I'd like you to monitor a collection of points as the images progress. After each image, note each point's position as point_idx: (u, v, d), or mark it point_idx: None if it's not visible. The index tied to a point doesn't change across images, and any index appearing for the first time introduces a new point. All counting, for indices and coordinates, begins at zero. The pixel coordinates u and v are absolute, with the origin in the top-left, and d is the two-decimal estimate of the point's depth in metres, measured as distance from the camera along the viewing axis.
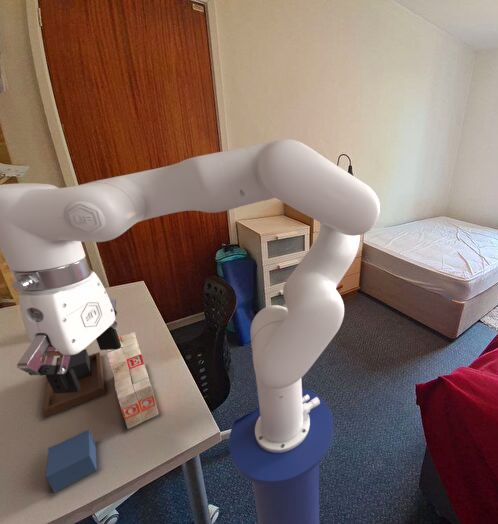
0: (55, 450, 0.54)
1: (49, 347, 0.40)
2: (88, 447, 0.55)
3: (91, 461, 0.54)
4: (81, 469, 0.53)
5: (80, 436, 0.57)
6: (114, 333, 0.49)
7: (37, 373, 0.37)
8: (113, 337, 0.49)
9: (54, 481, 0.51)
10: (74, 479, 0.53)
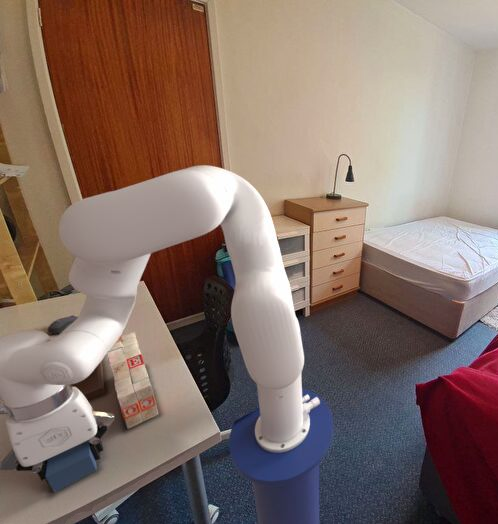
0: None
1: None
2: (88, 447, 0.55)
3: (91, 461, 0.54)
4: (81, 469, 0.53)
5: None
6: (92, 450, 0.55)
7: None
8: (91, 451, 0.56)
9: (54, 481, 0.51)
10: (74, 479, 0.53)
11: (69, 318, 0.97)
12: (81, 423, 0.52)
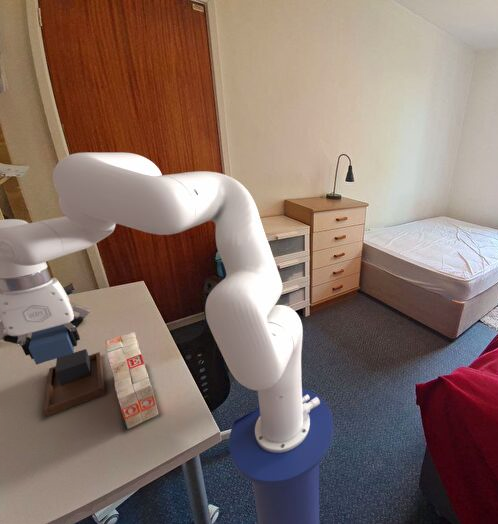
0: (37, 334, 0.64)
1: None
2: (66, 332, 0.64)
3: (68, 343, 0.64)
4: (59, 348, 0.63)
5: (60, 326, 0.66)
6: (69, 335, 0.65)
7: None
8: (69, 337, 0.65)
9: (36, 353, 0.60)
10: (53, 356, 0.62)
11: None
12: (59, 306, 0.61)
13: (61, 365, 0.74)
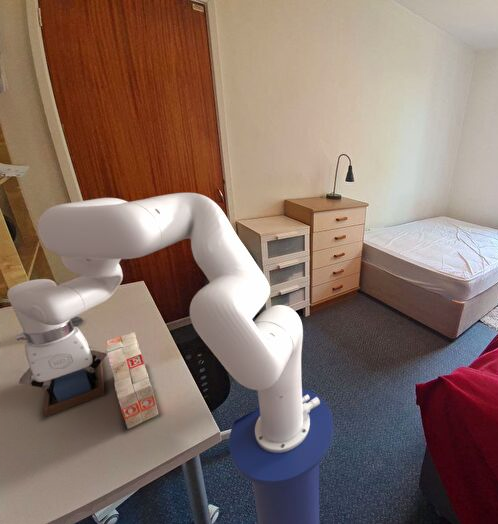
0: (60, 376, 0.71)
1: None
2: (85, 374, 0.71)
3: (88, 384, 0.70)
4: (80, 390, 0.70)
5: None
6: (88, 377, 0.72)
7: None
8: (88, 378, 0.72)
9: (59, 396, 0.67)
10: None
11: None
12: (80, 353, 0.68)
13: None
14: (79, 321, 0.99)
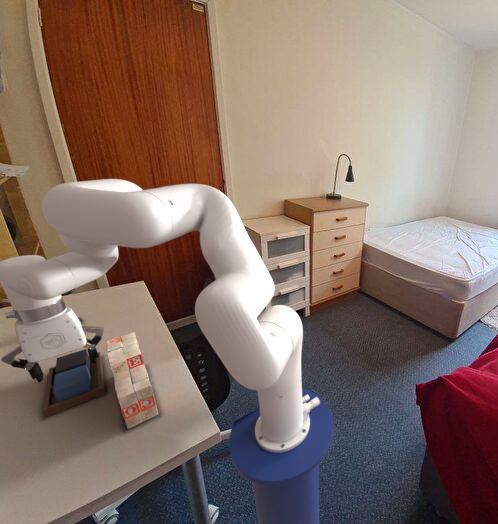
0: (60, 376, 0.71)
1: None
2: (85, 374, 0.71)
3: (88, 384, 0.70)
4: (80, 390, 0.70)
5: (79, 368, 0.73)
6: (89, 353, 0.70)
7: (12, 364, 0.62)
8: (89, 355, 0.70)
9: (59, 396, 0.67)
10: None
11: None
12: (73, 333, 0.66)
13: (61, 365, 0.74)
14: None
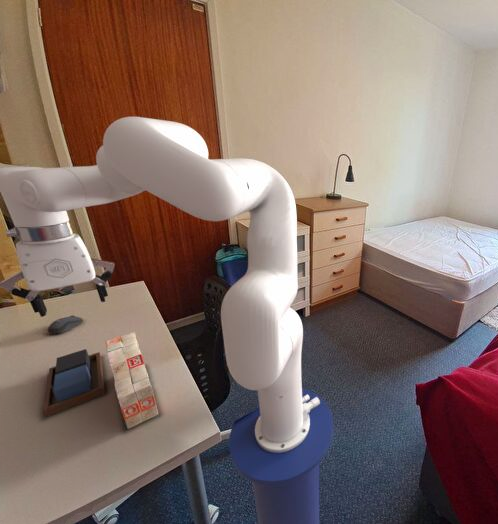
0: (60, 376, 0.71)
1: None
2: (85, 374, 0.71)
3: (88, 384, 0.70)
4: (80, 390, 0.70)
5: (79, 368, 0.73)
6: (98, 290, 0.63)
7: (11, 292, 0.55)
8: (98, 292, 0.63)
9: (59, 396, 0.67)
10: None
11: (69, 318, 0.97)
12: (81, 262, 0.59)
13: (61, 365, 0.74)
14: (79, 321, 0.99)
